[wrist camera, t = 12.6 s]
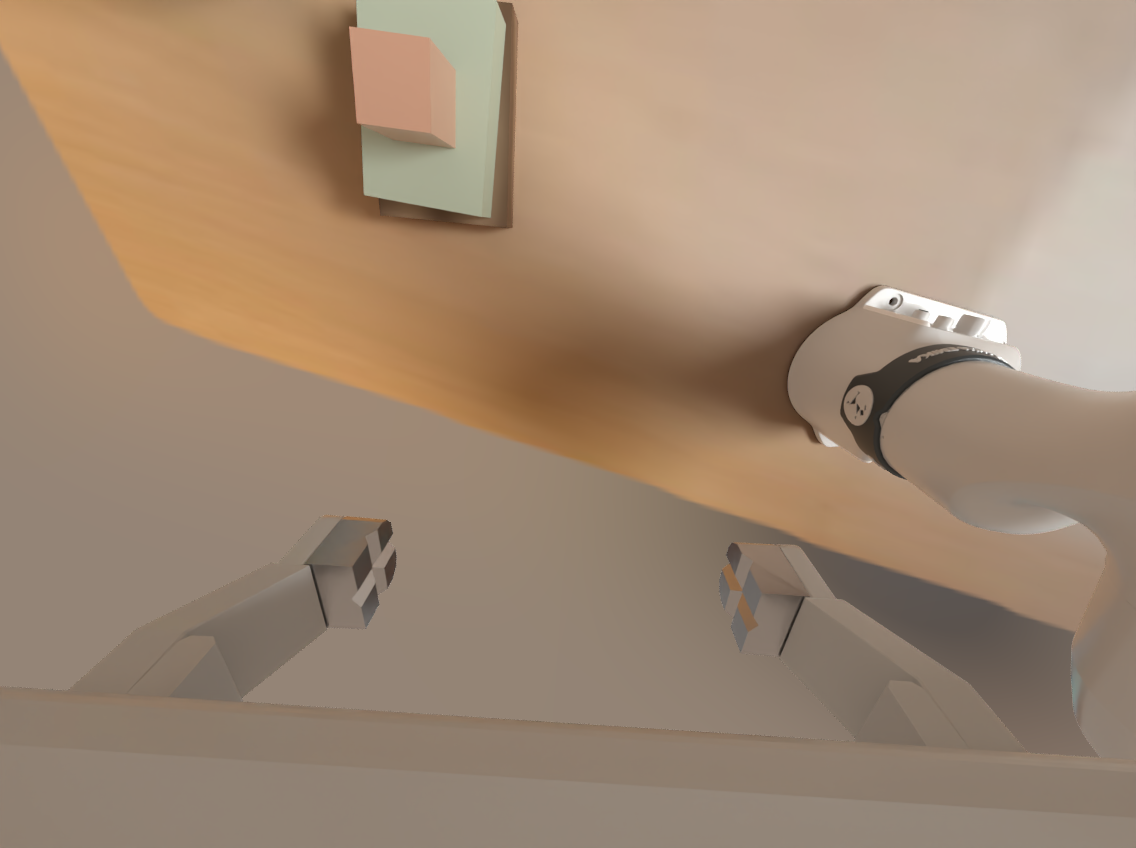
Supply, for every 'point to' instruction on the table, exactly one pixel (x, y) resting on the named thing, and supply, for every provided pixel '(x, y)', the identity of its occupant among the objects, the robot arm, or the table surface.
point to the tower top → (475, 50)
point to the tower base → (504, 149)
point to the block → (403, 87)
